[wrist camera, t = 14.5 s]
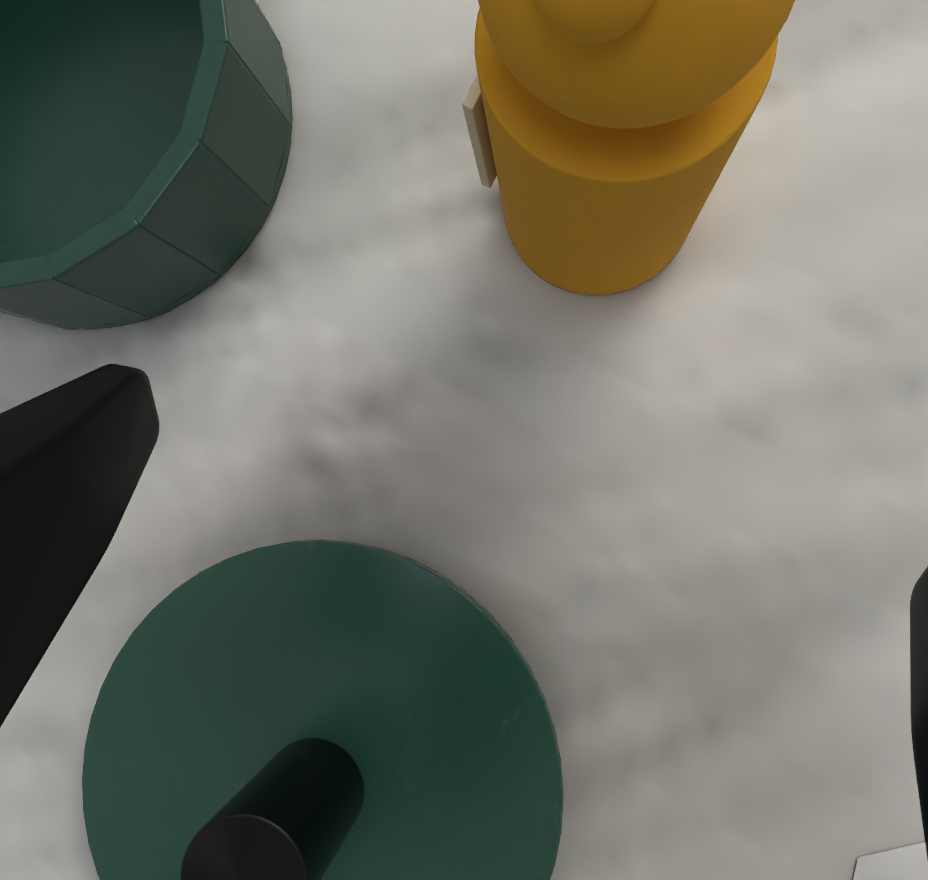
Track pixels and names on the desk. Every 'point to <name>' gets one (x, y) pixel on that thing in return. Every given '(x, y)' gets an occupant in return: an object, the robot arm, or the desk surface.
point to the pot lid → (321, 730)
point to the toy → (612, 124)
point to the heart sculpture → (894, 864)
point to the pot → (133, 152)
